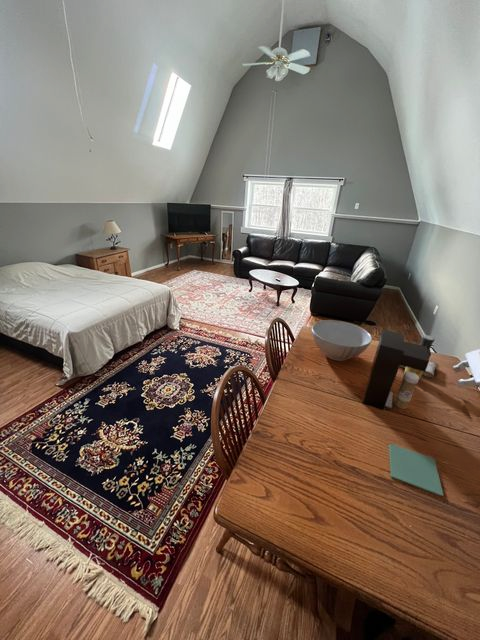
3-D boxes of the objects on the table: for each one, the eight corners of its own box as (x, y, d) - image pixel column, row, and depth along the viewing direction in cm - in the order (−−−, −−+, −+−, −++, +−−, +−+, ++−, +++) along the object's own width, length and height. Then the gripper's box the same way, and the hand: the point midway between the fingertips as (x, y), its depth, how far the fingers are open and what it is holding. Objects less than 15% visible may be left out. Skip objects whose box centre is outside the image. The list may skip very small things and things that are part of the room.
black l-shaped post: (406, 396, 104) (428, 339, 94) (407, 419, 93) (431, 358, 82) (366, 383, 110) (382, 329, 100) (362, 403, 99) (380, 345, 89)
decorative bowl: (360, 377, 114) (367, 353, 109) (300, 357, 126) (304, 334, 121) (369, 350, 135) (375, 329, 130) (317, 335, 147) (320, 315, 142)
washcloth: (393, 353, 134) (395, 347, 132) (435, 367, 124) (438, 361, 122) (387, 362, 125) (389, 357, 124) (432, 379, 115) (434, 373, 114)
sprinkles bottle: (397, 408, 97) (408, 378, 92) (391, 400, 102) (402, 370, 96) (410, 409, 97) (422, 379, 92) (404, 401, 101) (415, 371, 96)
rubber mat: (434, 459, 78) (434, 458, 78) (443, 497, 68) (443, 495, 68) (388, 444, 83) (389, 443, 83) (391, 477, 73) (391, 476, 73)
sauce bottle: (401, 376, 116) (415, 336, 108) (406, 371, 120) (420, 331, 111) (417, 384, 111) (434, 342, 103) (422, 378, 115) (439, 337, 107)
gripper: (493, 338, 88) (446, 354, 96) (513, 368, 71) (454, 384, 80) (504, 354, 88) (456, 369, 96) (527, 387, 71) (466, 402, 80)
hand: (455, 376), depth 88 cm, fingers open, 8 cm apart
